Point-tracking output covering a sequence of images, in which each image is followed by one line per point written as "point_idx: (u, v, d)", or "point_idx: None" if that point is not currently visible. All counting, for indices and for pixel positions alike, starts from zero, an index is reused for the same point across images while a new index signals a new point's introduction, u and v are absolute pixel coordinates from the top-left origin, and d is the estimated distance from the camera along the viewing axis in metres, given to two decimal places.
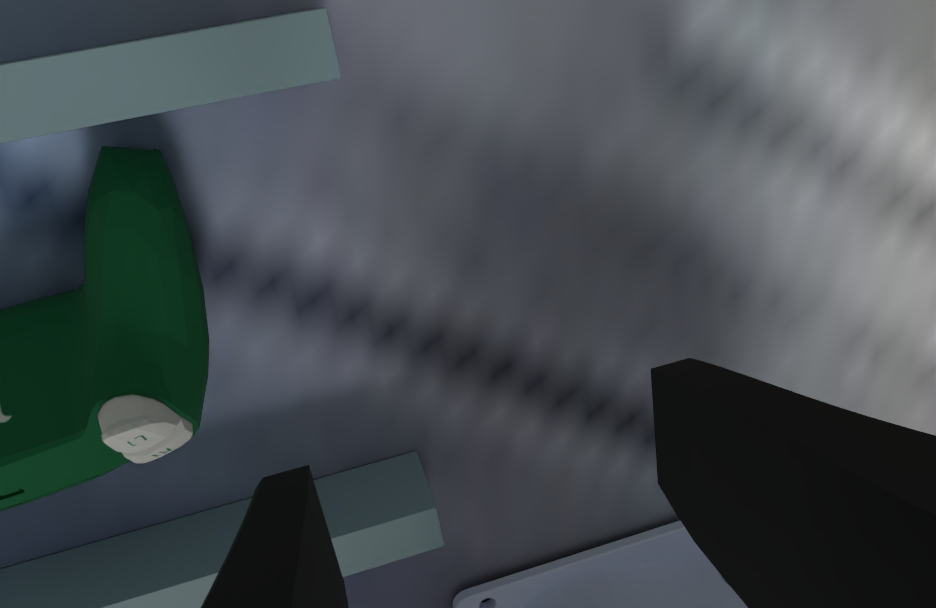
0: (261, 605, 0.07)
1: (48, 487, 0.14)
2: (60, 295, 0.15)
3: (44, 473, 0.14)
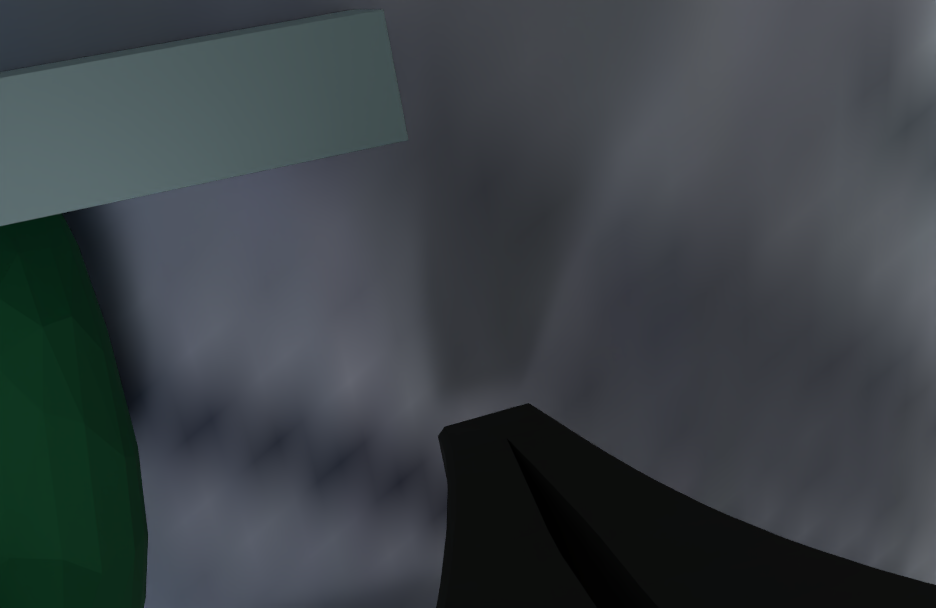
0: (513, 527, 0.07)
1: None
2: None
3: None
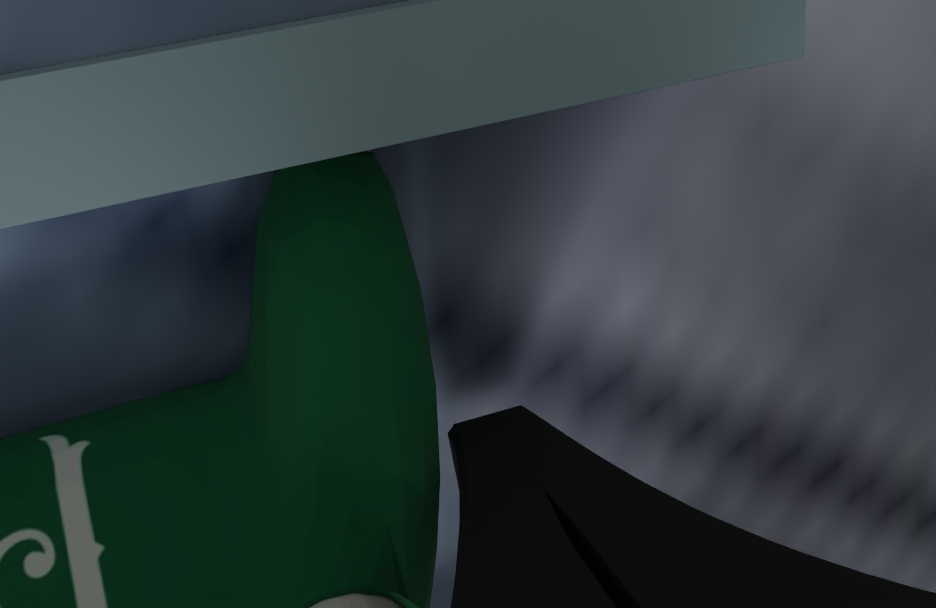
0: (526, 523, 0.07)
1: None
2: (199, 391, 0.09)
3: None
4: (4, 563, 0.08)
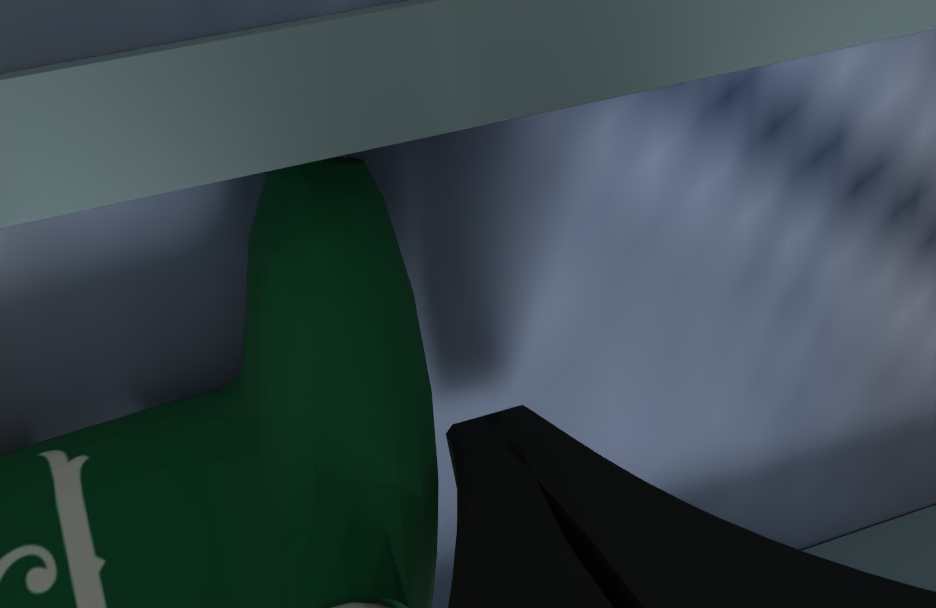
0: (524, 524, 0.07)
1: None
2: (197, 402, 0.09)
3: None
4: (6, 579, 0.08)
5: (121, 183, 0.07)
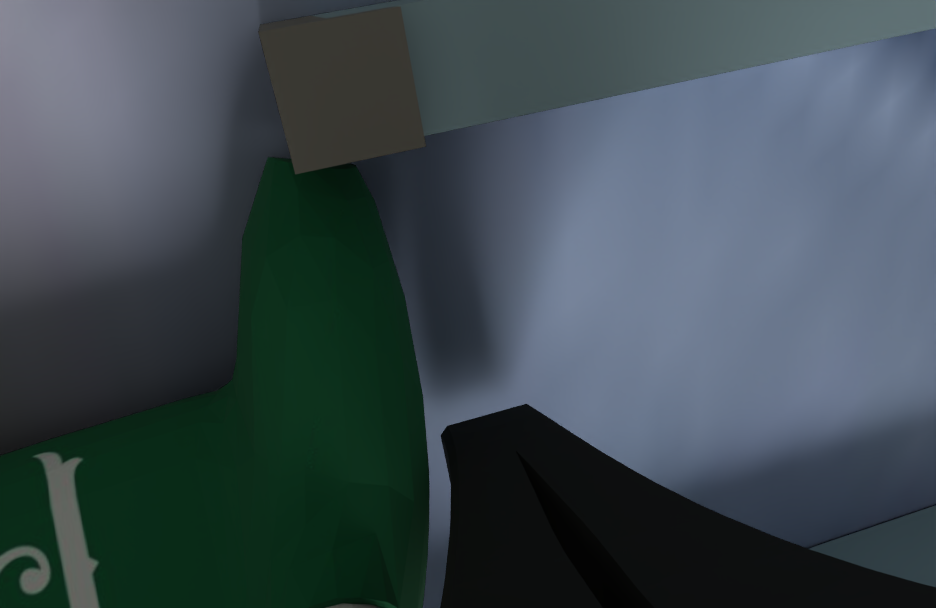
0: (517, 526, 0.07)
1: None
2: (190, 405, 0.09)
3: None
4: (1, 580, 0.08)
5: (536, 95, 0.07)
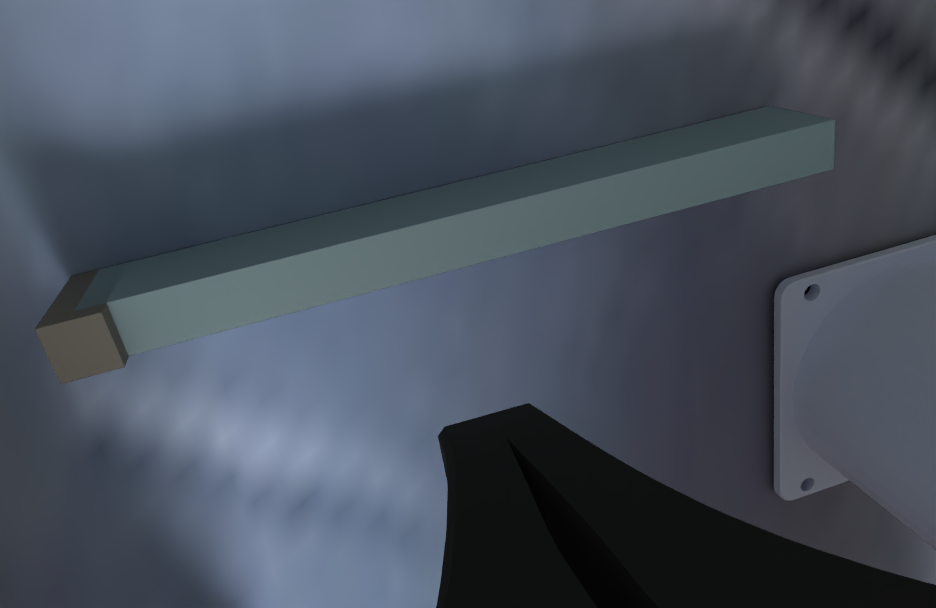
0: (513, 527, 0.07)
1: None
2: None
3: None
4: None
5: None
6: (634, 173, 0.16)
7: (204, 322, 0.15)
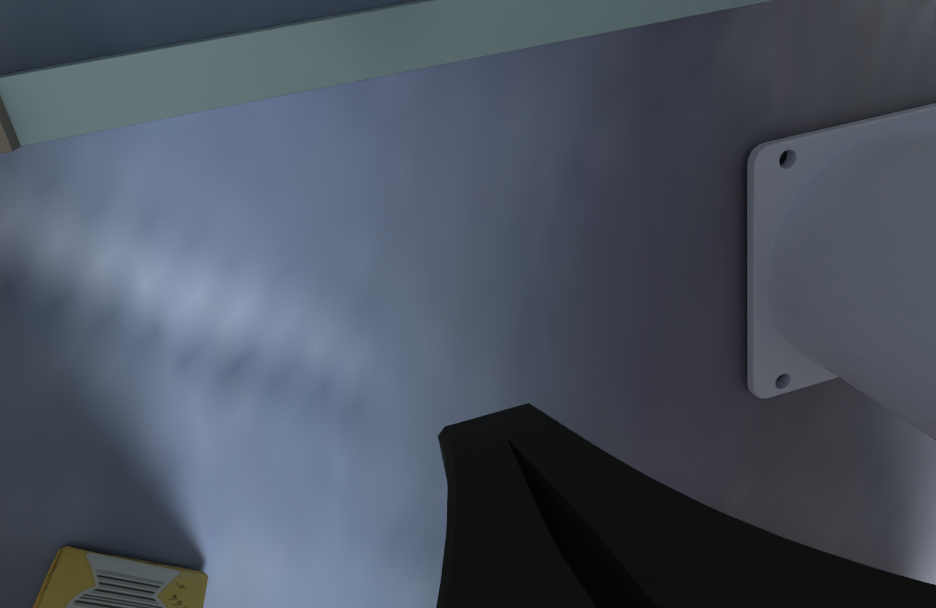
0: (513, 527, 0.07)
1: None
2: None
3: None
4: None
5: None
6: None
7: (106, 113, 0.14)
